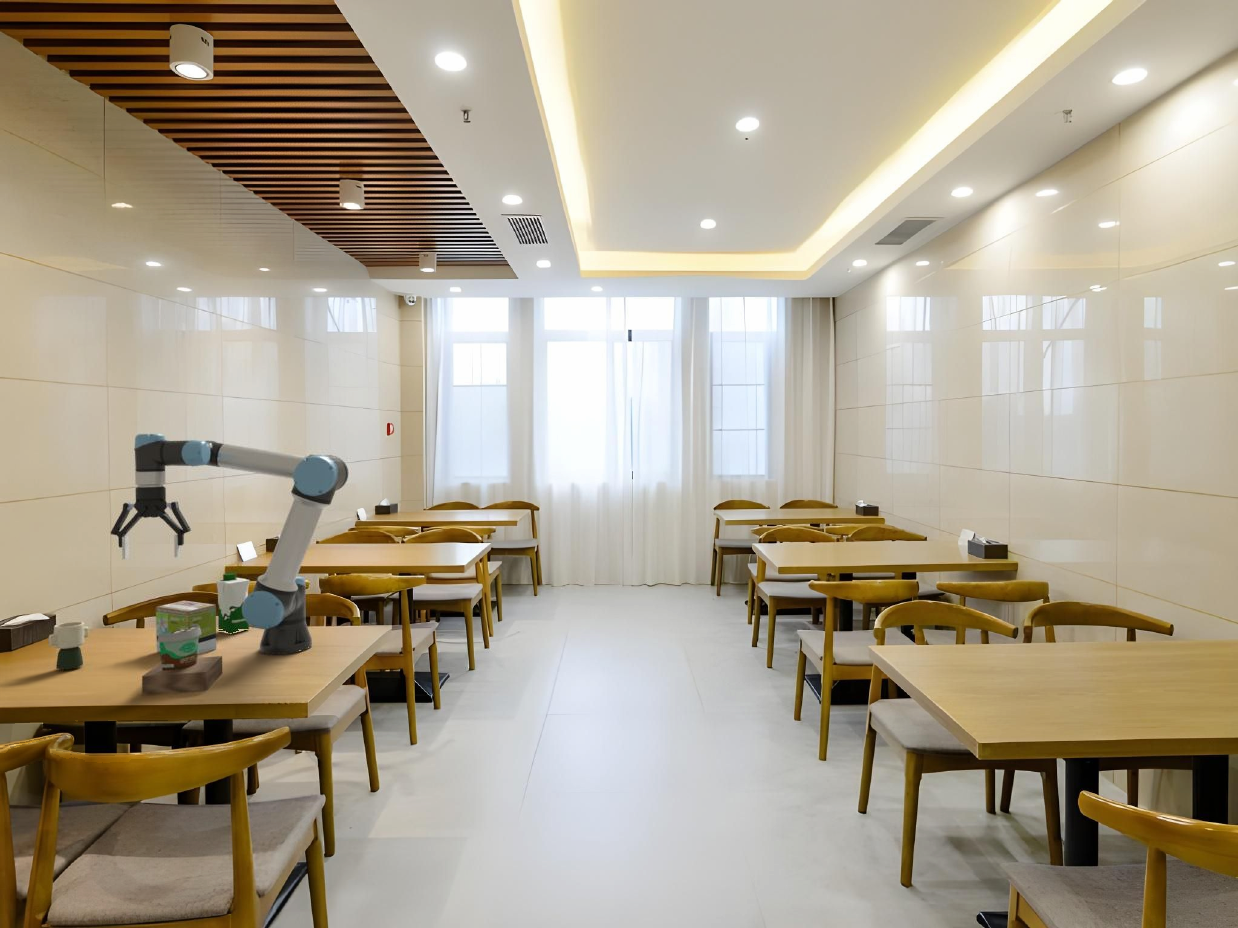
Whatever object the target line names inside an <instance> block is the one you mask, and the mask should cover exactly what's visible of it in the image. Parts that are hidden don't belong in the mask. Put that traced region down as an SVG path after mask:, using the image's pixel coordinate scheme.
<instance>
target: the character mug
mask: <svg viewBox="0 0 1238 928" xmlns="http://www.w3.org/2000/svg"><path fill="white" fill-rule="evenodd" d="M89 630H90V629H89V627H88V625H87V626H85V622H83V621H70V622H62V623H58V624H55V625H54V626H53V633H52V634H49V635H48V645H49V647H53V646H54V647H55V648H56V649H58V653H57V660H56V667H55V668H56V670H63V669H64V670H63V671H66V670H69V669H72V670H73V669H77V668H81V667H83V665H84V660H83V659H84V658H83V656H82V655H83V653H82V649H81V647H80V646H83V645H85V639H87V638H89V634H90V633H89ZM65 669H66V670H65Z"/></svg>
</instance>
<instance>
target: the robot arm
mask: <svg viewBox="0 0 1238 928" xmlns="http://www.w3.org/2000/svg"><path fill="white" fill-rule="evenodd" d="M133 449H134V460H135V461H134V465H135V470H134V471H135V472H134V475H135V476H134V477H135V478H134V481H135V482H134V484H135V485H136V486H137V487H136V488H135V489H134V490H135V502H134V503H131V502H129V501H128V502H124V503H123V504H122V511H121V513H120V514H119V516H118V518H117V520H116V521H115V524H113V525H114V526H113V527H112V529H111V531H110V535H111V536H113V535H114V536H117V537H118V539H117V540H118V547H119V548H122V549H121V555H122V557H121V558H122V560H126V559H129V558H130V536H129V535H127V534H128V533H129V531H131V530H132V528H133V527H135V525H136V524H137V523H138V522H139V521H140V520H141V519H142V518H144V519H146V518H147V519H148V518H158V517H159V519H161V520H163V521H164V522H165V524H166V525H167V526H168V527H169V528H171V530H173V531H174V532H175V534H174V535H173V538H174V539H173V541H174V543H173V547H174V549H173V550H174V552H173V553H174V558H179V557H181V546H184V544H185V538H184V537H185V536H184V535H185V534H187V533H189V532H191V531H192V528H191V527H190V525H189V523H188V522H187V520H186V518H185V516H184V515H183V513H182V512H181V509H180V506H179V502H178V501H172V502H167V493H166V491H167V489H166V486H164V485H166V467H172V466H174V467H175V466H177V467H179V466H180V467H181V466H182V467H198V466H210V467H211V466H212V467H216V468H225V469H230V470H236V471H243V472H249V473H255V474H262V475H267V476H273V477H280V478H286V479H292V480H293V483H294V484H293V487H292V490H291V492H290V493H291V495H292V498H293V502H292V504H291V506H290V509H289V511H288V514H287V516H286V520H285V522H284V525H283V526H282V530H281V532H280V535H279V538H278V540H277V543H276V545H275V548H274V549H273V553H272V555H271V558H270V561H269V563H268V565H267V568H266V571H265V573H264V574H261V575H259V576H258V577H257V579H256V582H255V585H254V587H253V590H252V592H251V593H248V596H247V597H246V599H245V600H244V602H243V605H242V614H243V617H244V618H245V620H246V622H247V623H248V624H249V626H251V627H253V628H255V629H260V630H264V631H263V633H262V637H261V639H260V642H259V652H260V653H261V652H262V654H264V653H267V654H266V655H284V654H283V653H289V654H293V653H292V652H295V653H298V652H297V651H299V650H303V651H305V650H304V649H306V650H308V649H309V648H308V647H310V646H311V645H313V642H312V641H313V640H312V636H311V633H310V630H309V628H308V625H307V621H306V606H307V605H306V588H307V586H306V579H305V578H304V577H303V576H298V575H299V572H300V569H301V567H302V564H303V561H304V559H305V556H306V554H307V551H308V549H309V546H310V544H311V541H312V538H313V536H314V533H315V531H316V527H317V525H318V523H319V520H320V517H321V515H322V512H323V510H324V508H327V507H328V506H331V504H332V501H333V499H334V496H335V493H336V491H338V490H340V489H342V488H343V487H344V486H345V485H346V483H347V482H348V479H349V468H348V465H347V463H346V462H345V461H344V460H343V459H341V458H340V457H338V456H337V455H332V454H326V455H325V454H324V455H323V454H311V453H310V454H308V455H306V456H304V455H297V454H291V453H285V452H278V451H271V450H266V449H259V448H254V447H253V448H252V447H246V446H242V445H235V444H234V445H233V444H227V443H221V442H217V441H214V440H196V439H191V440H190V439H189V440H166V438H165V435H164V434H163V433H139V434H136V436H135V439H134V448H133ZM133 508H134V509H135V510H136V511H137V512H136V513H135V514H134V515H133V517H132V518H131V519H130V520H129V521H128V522H127V523H126V524H125V525H124V523H125V522H126V520H127V518H128V516H129V515H130V512H131V511H132V510H133ZM167 508H169V510H171V512H172V513H173V515H174V517H175V518H176V520H177V522H178V523H179V524H177V522H176V521H175V520H173V518H172V516H171V517H170V515H169V514H168V513H167V511H165V510H167ZM123 525H124V527H123ZM179 525H180V526H179ZM122 527H123V528H122ZM311 647H312V646H311ZM311 647H310V648H311ZM307 648H308V649H307ZM299 652H300V651H299Z"/></svg>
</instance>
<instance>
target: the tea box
mask: <svg viewBox="0 0 1238 928" xmlns="http://www.w3.org/2000/svg"><path fill="white" fill-rule="evenodd" d="M216 605H217V604H214V603H213V604H212V603H203V602H196V601H188V600H181V601H180V600H179V601H177V602H172V603H168V604H163V605H158V606H155V619H156V620H155V626H156V627H155V628H156V632H155V633H156V652H159V653H160V643H159V642H157V641H158V636H159V634H170V633H172V632H174V631H176V630H183V629H187V628H189V627H191V624H197V625H199V627H200V629H201V635H199V638H198V651H197V656H199V655H202V654H205V653H209V652H211V651H214V650H216V649H217V607H216Z"/></svg>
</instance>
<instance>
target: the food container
mask: <svg viewBox="0 0 1238 928" xmlns="http://www.w3.org/2000/svg"><path fill="white" fill-rule="evenodd" d="M199 635H201V629H200V627H199V625H197V624H191V627H189V628H187V629H183V630H176V631H174V632H172V633H170V634H159V636H158V641H157V640H156V643H157V642H159V643H160V652H159V653H160V662H162V670H178V669H183V668H188V667H191V666H193V665H195V664H196V663H197V658H198V655H197V651H198V638H199Z"/></svg>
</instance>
